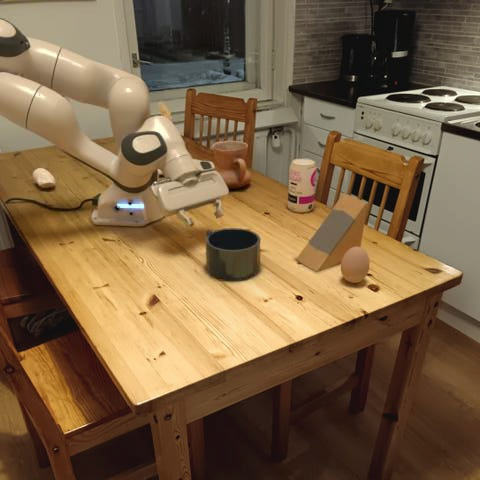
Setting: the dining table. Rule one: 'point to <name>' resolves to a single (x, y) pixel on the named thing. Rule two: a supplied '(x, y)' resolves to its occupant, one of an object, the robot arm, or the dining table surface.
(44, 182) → the roll
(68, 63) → the robot arm
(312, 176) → the supplement can
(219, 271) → the coffee mug
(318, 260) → the sandwich container
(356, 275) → the egg
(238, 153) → the ceramic jug
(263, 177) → the dining table surface
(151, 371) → the dining table surface
